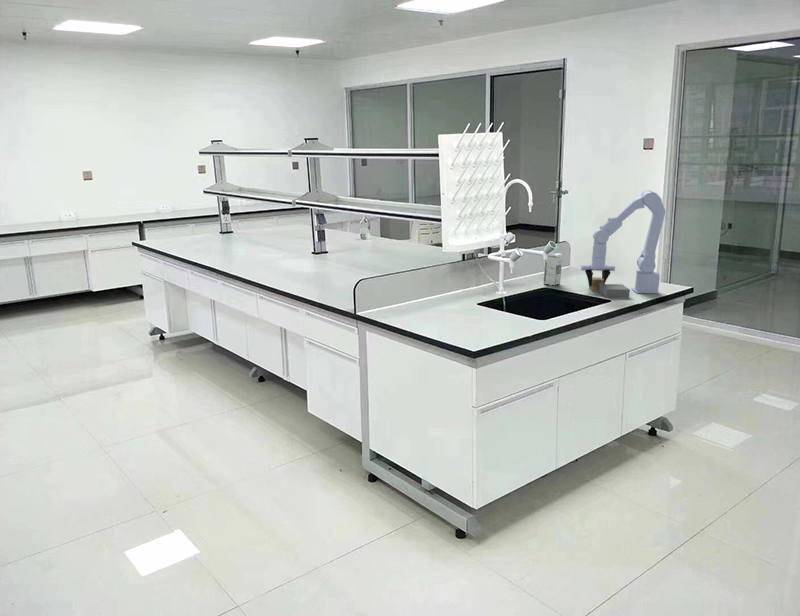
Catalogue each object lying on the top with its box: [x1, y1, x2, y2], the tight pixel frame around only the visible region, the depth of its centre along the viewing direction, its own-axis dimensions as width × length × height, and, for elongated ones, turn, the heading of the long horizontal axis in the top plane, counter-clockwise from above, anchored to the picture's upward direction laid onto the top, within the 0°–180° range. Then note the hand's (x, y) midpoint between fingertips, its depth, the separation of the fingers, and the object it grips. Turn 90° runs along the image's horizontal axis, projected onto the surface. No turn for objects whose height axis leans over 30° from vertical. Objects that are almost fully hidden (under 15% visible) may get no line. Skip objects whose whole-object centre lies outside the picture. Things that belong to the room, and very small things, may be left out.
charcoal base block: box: [598, 283, 631, 299], centre depth 279 cm, size 10×10×4 cm
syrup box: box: [543, 252, 563, 286], centre depth 297 cm, size 6×6×14 cm
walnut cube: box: [588, 276, 604, 292], centre depth 289 cm, size 5×5×5 cm
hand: (596, 286), depth 289 cm, fingers closed on walnut cube, 5 cm apart
